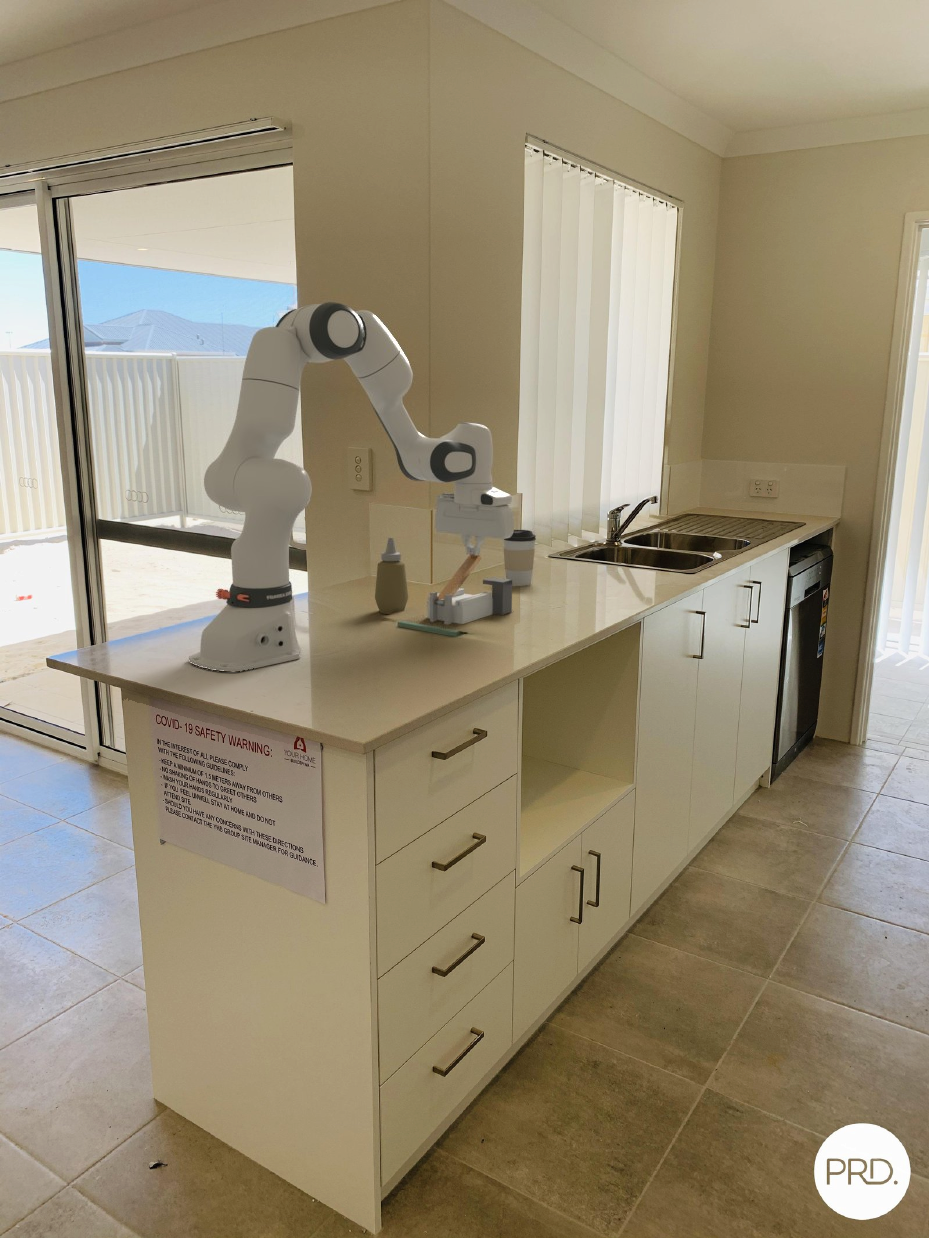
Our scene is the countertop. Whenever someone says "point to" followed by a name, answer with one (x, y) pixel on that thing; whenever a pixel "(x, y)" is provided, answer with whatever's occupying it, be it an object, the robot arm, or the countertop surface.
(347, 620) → the countertop surface
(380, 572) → the squeeze bottle
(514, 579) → the coffee cup
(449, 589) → the strap
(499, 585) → the block
